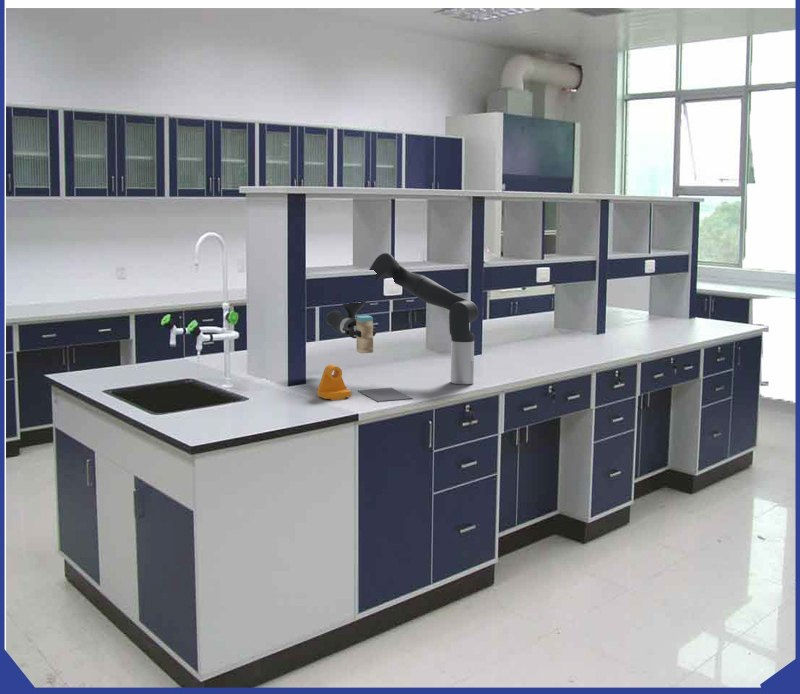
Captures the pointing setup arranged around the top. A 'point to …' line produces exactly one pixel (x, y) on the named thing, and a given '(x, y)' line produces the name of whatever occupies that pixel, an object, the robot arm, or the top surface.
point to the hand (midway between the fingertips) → (367, 334)
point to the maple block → (365, 334)
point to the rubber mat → (385, 394)
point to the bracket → (332, 384)
